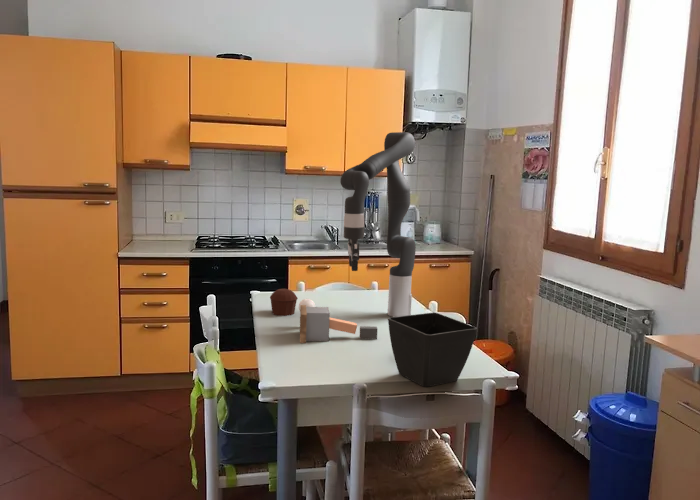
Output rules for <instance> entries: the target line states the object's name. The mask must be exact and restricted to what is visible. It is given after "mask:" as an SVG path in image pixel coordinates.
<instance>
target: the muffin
mask: <svg viewBox="0 0 700 500" xmlns="http://www.w3.org/2000/svg"><path fill="white" fill-rule="evenodd" d="M269 298H270V304H271V313H272V314H273V315H275V316H281V317H282V316H283V317H288V316H293V315H294V314H295V310H296V307H297V301H298V297H297V295H296V294H295V292H294V291H293V290H291V289H288V288H278V289H276V290H274V291H273V292H272V293H271V295H270V297H269Z"/></svg>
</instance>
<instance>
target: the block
mask: <svg viewBox="0 0 700 500" xmlns="http://www.w3.org/2000/svg"><path fill="white" fill-rule="evenodd" d="M306 311H307V322H306V342H329V339H330V329H329V320H330V318H331V316H330V315H331V314H330V313H331V312H330V310H329V306H315V307H306Z"/></svg>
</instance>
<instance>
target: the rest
mask: <svg viewBox="0 0 700 500" xmlns="http://www.w3.org/2000/svg"><path fill="white" fill-rule="evenodd" d="M359 339H360V340H378V327H377V326H365V325H364V326H362V325H361V326H359Z"/></svg>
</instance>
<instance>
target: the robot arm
mask: <svg viewBox="0 0 700 500" xmlns="http://www.w3.org/2000/svg"><path fill="white" fill-rule="evenodd" d="M415 146H416V141H415V138H414V135H413V134H411V132H404V131H402V132H400V131H399V132H398V131H397V132H393V131H392V132H389V133H387V134H386V136H385V138H384V144H383V147H384V150H381V151H378V152H376V153H374V154H372V155H370V156H368V157H367V158H366V159H365V160H364V161H362V162H361V163H359V164H356V165H354V166H352V167H350V168H348V169H347V170H345V171H343V173H342V174H341V177H340V186H341V187H342V188H343V189H345V190H347V191H353V195H352V196H348V197H346V198H345V200H344V216H343V238H344V239H347V241H348V242H347V255H348V258H349V259H348V266H349V267H350V268H351V271H352V272H358V270H359V266H358V265H359V261H360V243H359V241H358V240H362V239H364V237H365V214H364V211H365V200H366V197H367V194H368V189H369V185H370V180H372V179H374V178H375V177H376V176H377V175H379V174H380V173H381V172H382V171H383V170H385V169H386V178H387V180H386V181H387V182H386V183H387V191H386V192H387V233H386V234H387V235H386V250H387V254H388V255H389V257H391V258H394V259H399V263H398V264H397V265H393V266H390V268H389V276H388V277H389V278H388V279H389V281H388V301H387V316H389V317H390V318H391V317H399V316H408V315H412V302H413V301H412V300H413V299H412V298H413V297H412V296H413V295H412V280H413V279H412V277H413V276H412V275H413V270H414V268H415V259H416V251H417V250H416V248H417V247H416V242H415V239H414V238H412V237H410V236H404V235H401V232H402V231H401V229H402V228H401V227H402V222H403V220H404V218H405V216H406V215H407V213H408V210H410V205H411V188H410V187H411V186H410V185H409V183H408V180H407V178H406V176H405V175H404V173H403V171H402V169H401V167H400V160H402V159H404V158H405V157H408V156H410V154H412V153H413V152H414V149H415Z"/></svg>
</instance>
